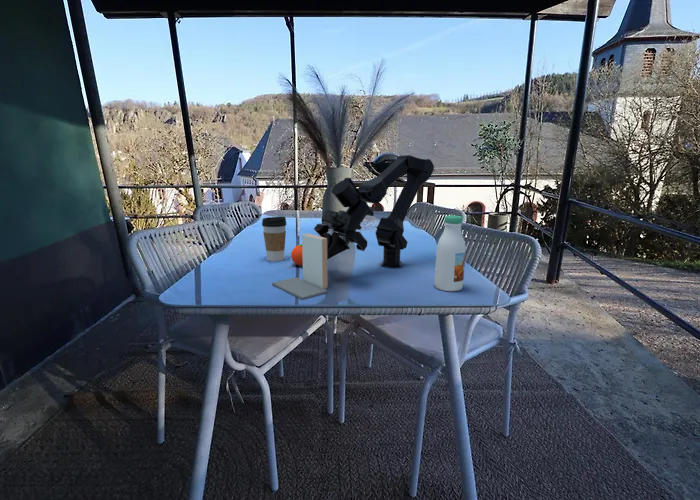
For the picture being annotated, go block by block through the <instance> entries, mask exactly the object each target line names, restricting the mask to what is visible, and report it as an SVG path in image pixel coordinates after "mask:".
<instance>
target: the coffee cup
mask: <svg viewBox="0 0 700 500" xmlns="http://www.w3.org/2000/svg"><path fill="white" fill-rule="evenodd" d="M286 220H287V219H286V216H271V217H270V216H269V217H264V218H262V222H261V226H262V227H263V238H264V244H265V253H266V259H267V261H269V262H281V261H284V259H285V251H286V249H285V248H286V237H287V236H286V235H287V234H286V233H287V231H286V226H287V221H286Z"/></svg>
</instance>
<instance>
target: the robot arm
mask: <svg viewBox="0 0 700 500" xmlns="http://www.w3.org/2000/svg"><path fill="white" fill-rule="evenodd" d="M434 170H435V165H434V163H433V161H432V160H431V159H429V158H419V157H416V156H412V155H411V154H408V155H407V154H405V155H404V154H403V155H399V156H398V157H397V158H396V159H395V160H394V161H393V162H392V163H391V164H390V165H389V166H387V168H385V169H384V170H383V171H381V172H380V174H379V175H377V177H374V178H371V179H369V180H367V181H365V182H363V183H362V184H360V185H359V186H358V187H357V186H356V184H355V183H354V181H353V180H352V178H351V177H345V178H344V179H343V180H340V181H339V182H338V183H336V184H334V185H333V187H332V188H331V194H333V196H334V198H336V200H337V201H338V202H339V203H340V205H341V206H342V207H343V208H346V211H345V210H338V212H337V211H334V210H330V209H324V212H323V214H322V217H321V221H322V222H326V223H329V224H330V225H328V224H325V223H317V224H316V225H315V226H314V228H313V230H314V231H315V232H316V234H318V236H320V237H324V238H327V261H328V260H329V259H331V258H333V257H335V256H336V255H337V256H338V254H341V253H342V252H345V251H347V250H350V246H351V244H353V243H354V244H356V246H355V247H356V250H358V251H362V252H365V251H366V248H367V247H368V240H367V239H366V238H365V237H364V236H363V235H362V233H361V232H360V231H361V229H362V226H361V224H362V222H363V221H364V220H365V218H366V217H367V216H370V217H373V216H374V214H375V213H374V211H373V209H374V208H373V206H369V204H377V205H378V204H379V203H381V201H383V200H384V198H385V197H386V195H387V193H388V189H389V188H390V186H392V185H393V184H394V183H395V182H396V181H397V180H398V179H399V178H401V176H402V175H403V174H405V173H406V181H405V183H404V186H403V187H402V189H401V191H400V193H399V195H398V198H397V199H396V202H395V203H394V205H393V208H392V209H391V212H390V214H389V215H388V216H387V217H386V218H385V217H381V218H380V220H379V223H378V224H377V225H376V227H375V228H376V231H375V236H376V240H377V245H378V246H380V247H383V255H382V256H383V258H382V262H381V265H380V266H381V267H391V268H401V267H402V260H401V253H402V252H401V250H405V249H407V246H408V243H409V242H408V240H407V239H406V238H405V236H404V232H405V229H404V221H405V219H406V217H407V214H408V212H409V211H410V208H411V206H412V204H413V202H414V200H415V198H416V196H417V194H418V191H419V189H420V188H421V186H422V185H423V184H425V183H426V182H427V181H428V180H429V179H430V178H431V176H432V175H433V173H434ZM368 203H369V204H368ZM357 230H358V231H357Z"/></svg>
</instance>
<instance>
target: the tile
mask: <svg viewBox="0 0 700 500" xmlns="http://www.w3.org/2000/svg"><path fill="white" fill-rule="evenodd" d="M301 243H302V244H301V245H302V256H303V266H302V280H304V281H306V282H309V283H311V284H313V285H315V286H318V287H320V288H322V289H325V290H327V289H328V260H327V238H324V237H321V236H320V235H315V234H311V233H308V232H307V233H302V234H301Z"/></svg>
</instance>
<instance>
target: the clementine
mask: <svg viewBox="0 0 700 500" xmlns="http://www.w3.org/2000/svg"><path fill="white" fill-rule="evenodd" d="M290 257H291V261H292V262H293V263H294V264H295V265H297V266H302V267H303V256H302V244H298V245H296V246H295V247H293V249H292V250H291V252H290Z"/></svg>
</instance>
